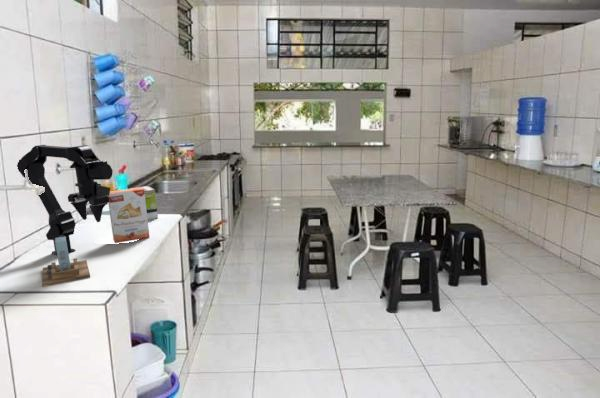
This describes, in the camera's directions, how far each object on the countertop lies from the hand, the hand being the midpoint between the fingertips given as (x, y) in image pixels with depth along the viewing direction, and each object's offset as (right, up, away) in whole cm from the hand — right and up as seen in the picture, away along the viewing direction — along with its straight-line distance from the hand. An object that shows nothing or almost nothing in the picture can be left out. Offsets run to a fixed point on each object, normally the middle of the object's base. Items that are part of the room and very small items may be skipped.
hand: (91, 220), depth 180 cm
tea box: (+1, -1, +59) cm, 60 cm away
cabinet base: (-1, -17, -18) cm, 25 cm away
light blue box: (-1, -16, -18) cm, 24 cm away
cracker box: (+8, -9, +20) cm, 24 cm away
